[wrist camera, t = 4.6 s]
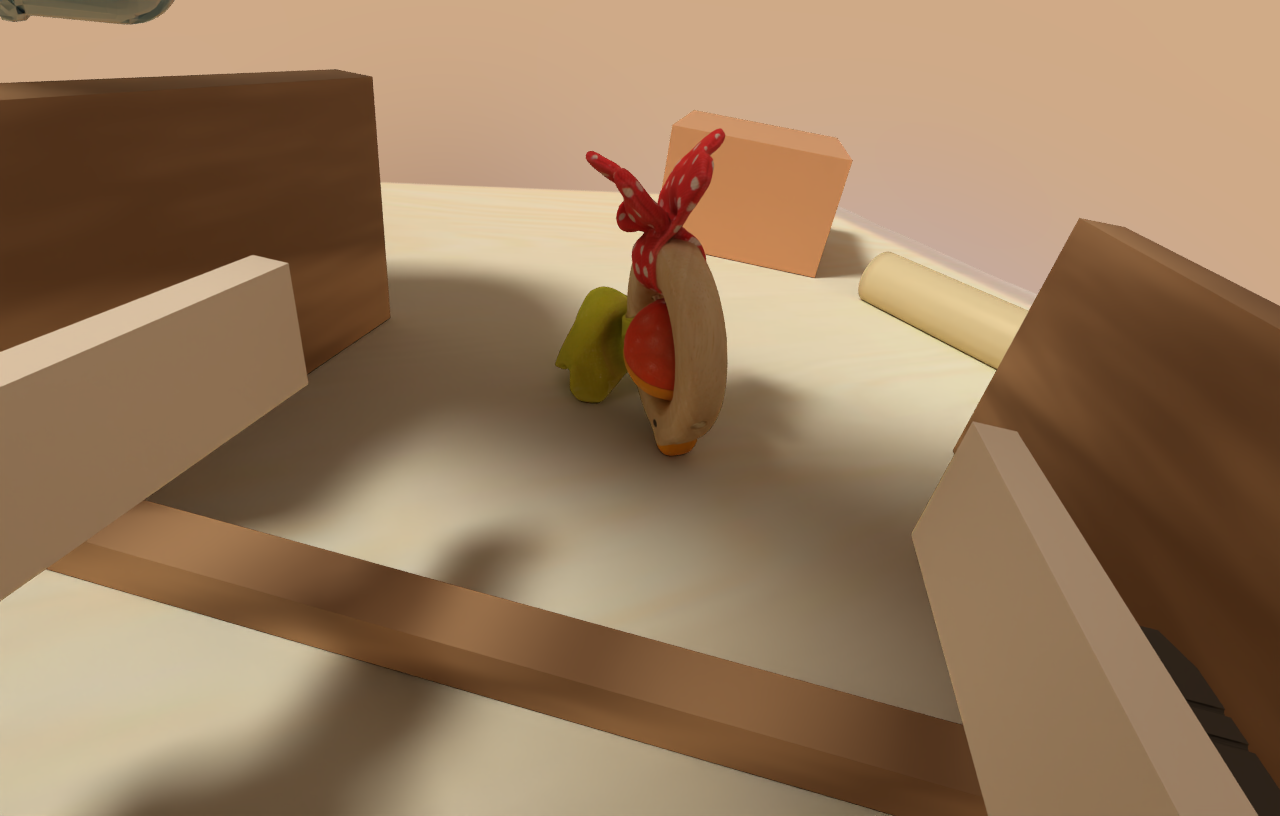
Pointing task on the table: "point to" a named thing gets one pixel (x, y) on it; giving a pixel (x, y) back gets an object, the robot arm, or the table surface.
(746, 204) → the terracotta stand
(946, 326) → the tan piece
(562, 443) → the table surface
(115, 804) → the table surface
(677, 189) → the bird rattle
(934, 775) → the walnut slot
